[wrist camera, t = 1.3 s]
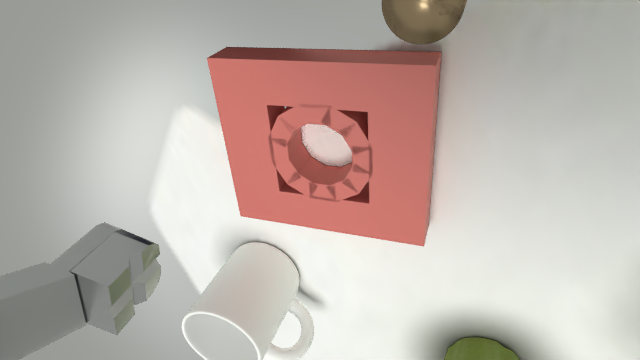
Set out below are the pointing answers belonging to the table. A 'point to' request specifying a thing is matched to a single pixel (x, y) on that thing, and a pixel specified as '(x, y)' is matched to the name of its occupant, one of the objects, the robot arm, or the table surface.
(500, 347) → the plant pot
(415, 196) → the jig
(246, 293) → the mug
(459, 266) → the table surface
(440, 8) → the tan cylinder plug
